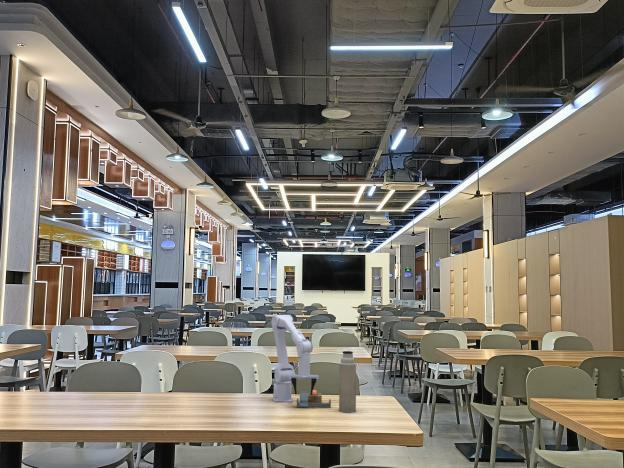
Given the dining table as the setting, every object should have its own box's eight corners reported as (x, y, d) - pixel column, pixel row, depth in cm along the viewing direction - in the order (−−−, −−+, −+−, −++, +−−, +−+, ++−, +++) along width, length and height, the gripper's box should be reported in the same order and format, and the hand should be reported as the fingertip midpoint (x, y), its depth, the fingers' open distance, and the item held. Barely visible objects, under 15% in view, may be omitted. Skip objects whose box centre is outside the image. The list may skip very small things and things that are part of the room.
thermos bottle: (356, 409, 271) (357, 350, 273) (354, 413, 263) (355, 352, 266) (340, 408, 272) (340, 350, 275) (337, 412, 264) (338, 351, 267)
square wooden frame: (305, 404, 282) (305, 395, 283) (305, 400, 290) (305, 393, 291) (321, 404, 282) (321, 396, 283) (321, 401, 290) (321, 393, 291)
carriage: (299, 406, 273) (299, 393, 274) (299, 404, 278) (300, 391, 279) (307, 406, 273) (308, 393, 274) (307, 404, 278) (308, 391, 279)
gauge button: (310, 398, 285) (310, 391, 286) (310, 397, 288) (310, 390, 289) (316, 398, 285) (316, 391, 286) (316, 397, 288) (316, 390, 289)
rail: (296, 407, 274) (296, 399, 274) (296, 406, 277) (296, 398, 277) (330, 407, 274) (330, 400, 274) (330, 406, 277) (330, 399, 277)
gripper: (289, 366, 273) (288, 395, 272) (319, 367, 273) (318, 396, 272) (289, 364, 281) (289, 392, 279) (318, 365, 281) (318, 393, 279)
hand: (303, 394), depth 276 cm, fingers open, 7 cm apart
